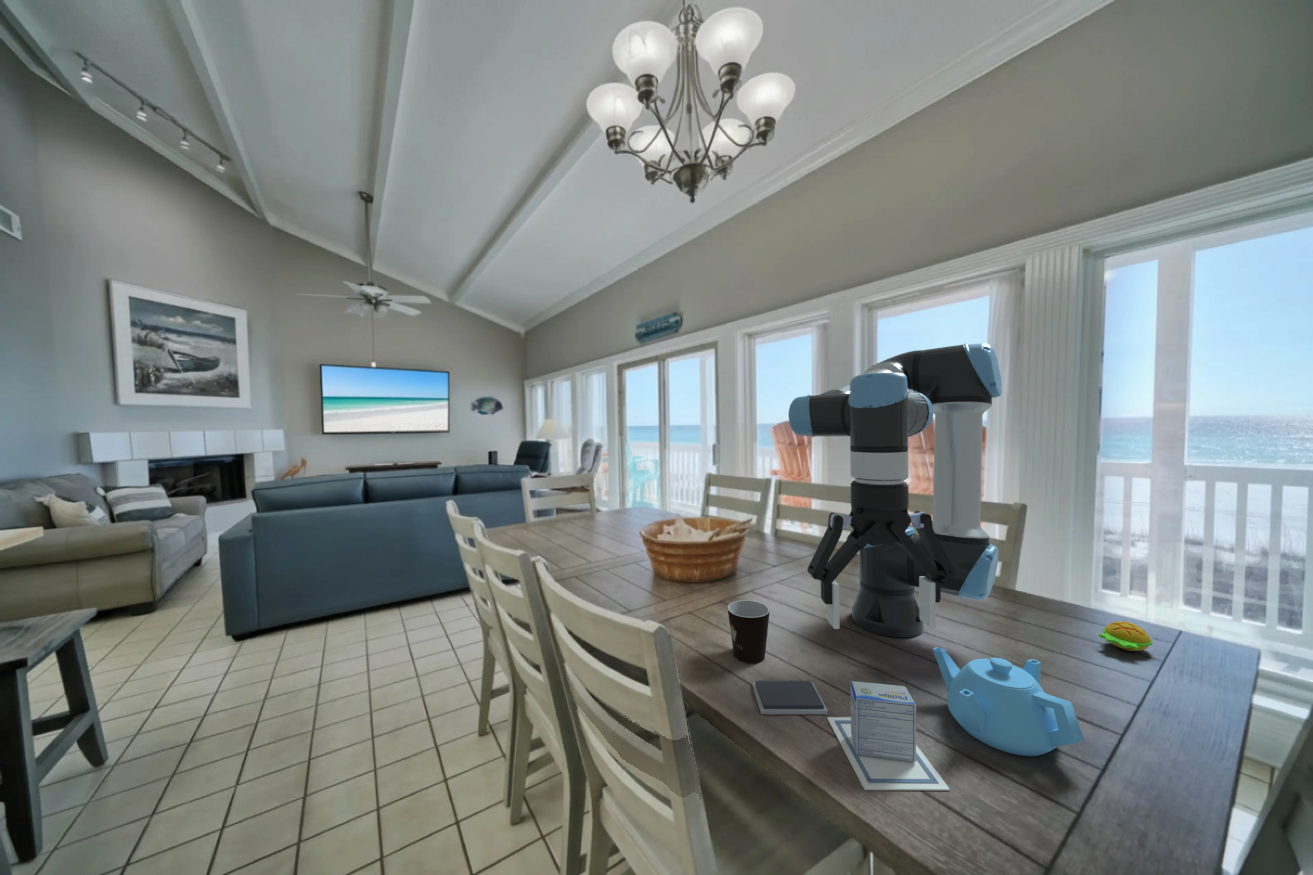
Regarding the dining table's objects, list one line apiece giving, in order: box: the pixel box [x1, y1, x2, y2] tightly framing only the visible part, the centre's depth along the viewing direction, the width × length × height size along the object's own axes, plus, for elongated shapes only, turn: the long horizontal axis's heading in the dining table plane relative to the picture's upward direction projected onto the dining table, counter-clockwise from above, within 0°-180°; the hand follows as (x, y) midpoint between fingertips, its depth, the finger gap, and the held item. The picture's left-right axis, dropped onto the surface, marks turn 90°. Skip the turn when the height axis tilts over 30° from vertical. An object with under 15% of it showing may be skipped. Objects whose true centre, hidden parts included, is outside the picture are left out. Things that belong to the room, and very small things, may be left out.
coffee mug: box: [727, 599, 771, 665], centre depth 93 cm, size 12×9×10 cm
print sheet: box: [826, 716, 951, 792], centre depth 64 cm, size 11×14×1 cm
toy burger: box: [1098, 620, 1153, 652], centre depth 90 cm, size 7×10×5 cm
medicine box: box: [849, 680, 917, 762], centre depth 64 cm, size 8×4×9 cm, turn 77°
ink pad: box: [752, 680, 829, 715], centre depth 77 cm, size 11×8×1 cm
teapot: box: [932, 646, 1085, 757], centre depth 68 cm, size 15×15×11 cm
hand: (880, 624), depth 64 cm, fingers open, 13 cm apart
